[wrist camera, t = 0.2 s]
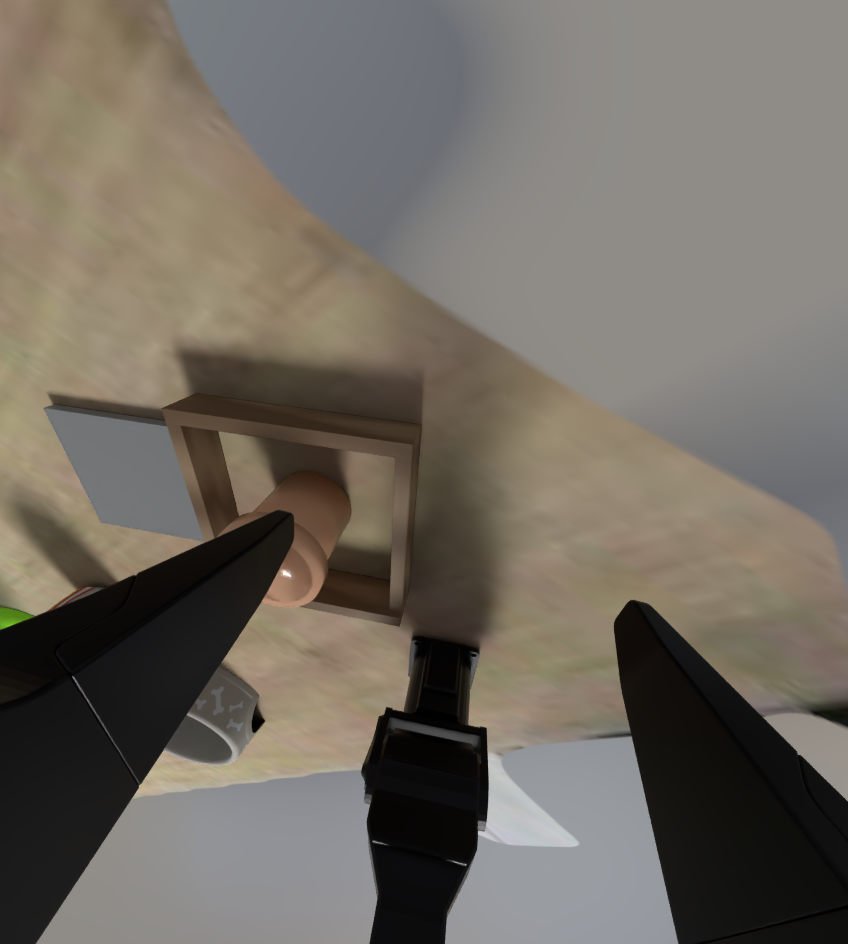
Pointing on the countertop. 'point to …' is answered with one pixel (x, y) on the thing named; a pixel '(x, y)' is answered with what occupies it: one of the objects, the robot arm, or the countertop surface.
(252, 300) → the countertop surface
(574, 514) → the countertop surface
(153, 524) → the slate tile
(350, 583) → the walnut frame
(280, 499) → the terracotta pot
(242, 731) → the dog bowl
